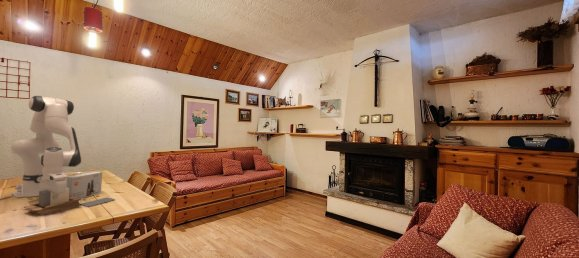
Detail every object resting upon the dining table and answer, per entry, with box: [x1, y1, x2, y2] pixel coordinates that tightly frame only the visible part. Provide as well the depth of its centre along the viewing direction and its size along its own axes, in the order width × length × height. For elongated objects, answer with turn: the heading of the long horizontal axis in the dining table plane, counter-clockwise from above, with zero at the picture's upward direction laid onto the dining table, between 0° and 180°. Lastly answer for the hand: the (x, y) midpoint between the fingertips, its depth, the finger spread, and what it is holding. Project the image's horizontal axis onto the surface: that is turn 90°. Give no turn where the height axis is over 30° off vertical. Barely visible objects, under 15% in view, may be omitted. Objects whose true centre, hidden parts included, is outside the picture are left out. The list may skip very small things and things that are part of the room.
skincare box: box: [66, 171, 103, 199], centre depth 170 cm, size 21×5×16 cm, turn 168°
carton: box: [23, 196, 85, 216], centre depth 147 cm, size 19×23×5 cm
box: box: [38, 187, 69, 207], centre depth 147 cm, size 5×12×8 cm, turn 158°
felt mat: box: [79, 197, 116, 208], centre depth 160 cm, size 9×16×1 cm, turn 158°
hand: (52, 198), depth 146 cm, fingers closed on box, 5 cm apart
